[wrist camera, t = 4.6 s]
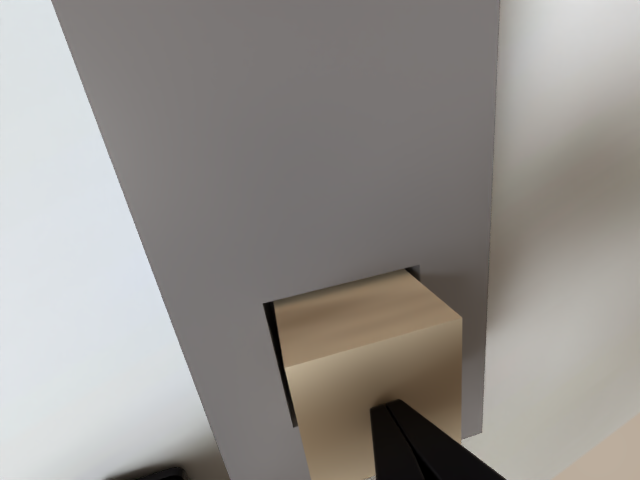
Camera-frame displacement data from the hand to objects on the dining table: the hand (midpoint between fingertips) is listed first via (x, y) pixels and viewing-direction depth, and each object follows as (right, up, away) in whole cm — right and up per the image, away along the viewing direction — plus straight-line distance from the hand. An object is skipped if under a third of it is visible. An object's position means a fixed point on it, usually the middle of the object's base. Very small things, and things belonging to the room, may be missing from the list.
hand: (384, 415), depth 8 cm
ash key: (-1, +1, +4) cm, 4 cm away
